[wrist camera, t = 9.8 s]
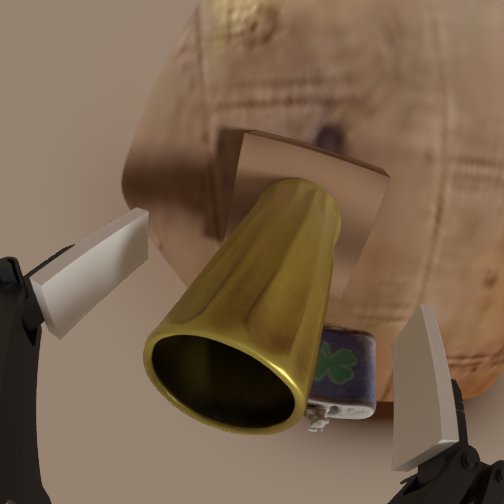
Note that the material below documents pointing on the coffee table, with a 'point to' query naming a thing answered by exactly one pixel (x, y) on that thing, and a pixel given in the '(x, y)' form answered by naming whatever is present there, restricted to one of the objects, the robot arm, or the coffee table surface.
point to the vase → (253, 317)
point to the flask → (342, 377)
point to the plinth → (321, 173)
